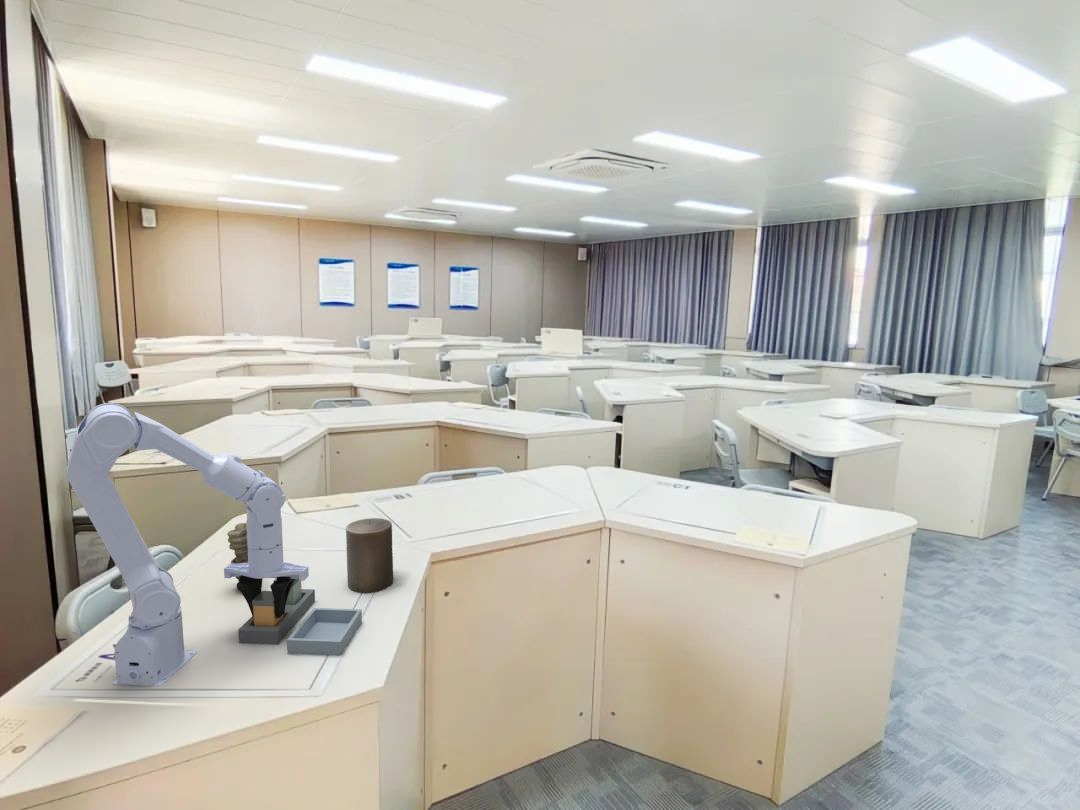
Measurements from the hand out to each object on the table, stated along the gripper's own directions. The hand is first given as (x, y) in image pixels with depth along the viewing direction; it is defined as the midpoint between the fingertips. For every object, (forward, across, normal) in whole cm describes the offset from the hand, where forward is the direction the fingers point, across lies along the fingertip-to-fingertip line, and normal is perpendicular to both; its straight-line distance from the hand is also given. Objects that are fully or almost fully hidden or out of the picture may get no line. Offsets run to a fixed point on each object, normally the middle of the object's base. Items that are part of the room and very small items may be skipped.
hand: (268, 614), depth 106 cm
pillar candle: (+4, -12, -21) cm, 25 cm away
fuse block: (+4, 0, -4) cm, 6 cm away
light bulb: (+4, +13, -16) cm, 21 cm away
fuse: (+3, 0, -8) cm, 9 cm away
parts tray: (+4, -11, +1) cm, 12 cm away
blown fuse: (+3, 0, 0) cm, 3 cm away
